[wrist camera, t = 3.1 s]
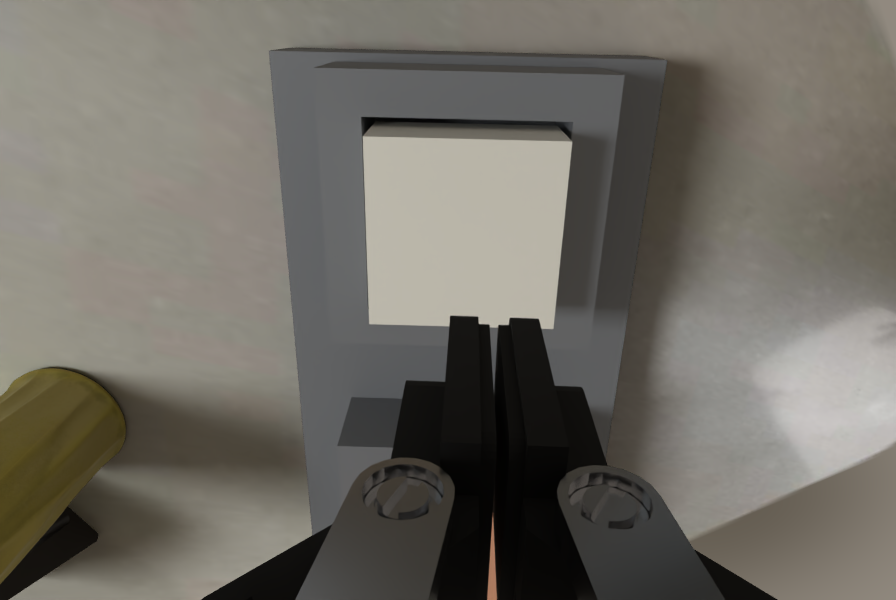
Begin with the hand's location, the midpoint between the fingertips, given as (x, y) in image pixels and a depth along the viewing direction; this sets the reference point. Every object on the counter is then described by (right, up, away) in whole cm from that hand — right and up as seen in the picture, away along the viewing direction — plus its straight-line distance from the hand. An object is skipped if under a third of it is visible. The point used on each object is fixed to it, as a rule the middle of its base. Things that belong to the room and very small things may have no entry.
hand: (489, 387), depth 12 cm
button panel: (0, +1, +18) cm, 18 cm away
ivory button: (0, +5, +10) cm, 11 cm away
